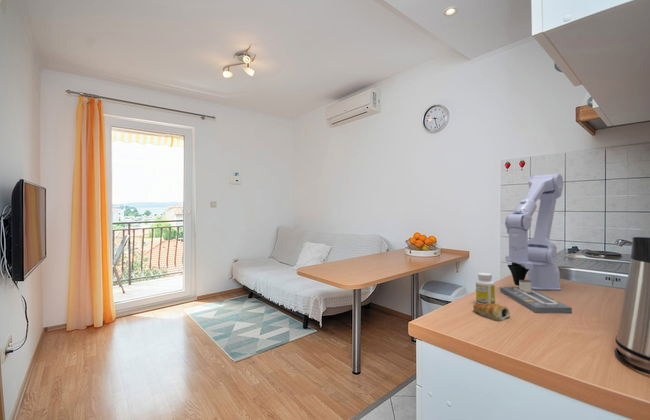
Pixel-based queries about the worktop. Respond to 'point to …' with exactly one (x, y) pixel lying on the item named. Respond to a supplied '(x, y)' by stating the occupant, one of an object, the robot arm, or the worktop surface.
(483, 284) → the supplement bottle
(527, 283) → the fader tab
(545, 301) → the console
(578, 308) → the worktop surface
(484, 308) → the pastry
